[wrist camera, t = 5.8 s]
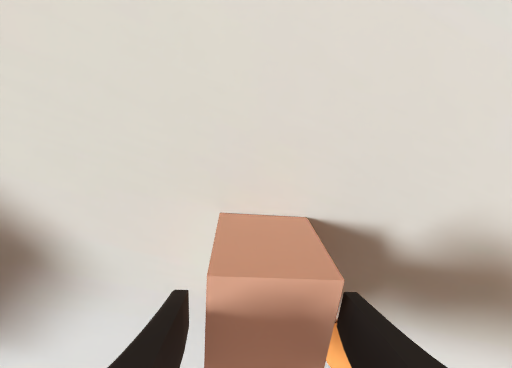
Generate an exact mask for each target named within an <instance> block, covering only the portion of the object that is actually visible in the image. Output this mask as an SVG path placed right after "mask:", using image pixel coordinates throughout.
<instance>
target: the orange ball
mask: <svg viewBox="0 0 512 368" xmlns="http://www.w3.org/2000/svg"><path fill="white" fill-rule="evenodd" d="M326 361H327V363H328V364H329V366H330V367H331V368H351V365H350V363H349V361H348V358H347V356H346V354H345V351H344V349H343V346H342V343H341V339H340V336H339V333H338V329H337V323H334V328H333V332H332V336H331V340H330V345H329V349H328V353H327V357H326Z"/></svg>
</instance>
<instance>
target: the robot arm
mask: <svg viewBox="0 0 512 368" xmlns="http://www.w3.org/2000/svg"><path fill="white" fill-rule="evenodd" d="M188 328H189V298H188V290H174V291H173V292H172V293H171V294H170V296H169V297H168V298H167V300H166V301H165V303H164V304H163V305H162V307H161V308H160V309H159V310H158V312H157V313H156V314H155V316H154V317H153V318H152V319H151V320H150V322H149V323H148V324H147V325H146V327H145V328H144V329H143V330H142V331H141V333H140V334H139V335H138V336H137V337H136V338H135V339H134V340H133V341H132V343H131V344H130V345H129V346H128V347H127V348H126V349H125V350H124V351H123V352H122V354H121V355H120V356H119V357H118V358H117V359H116V360H115V361H114V362H113V363H112V364H111V365H110V366H109V367H108V368H180V364H181V361H182V357H183V354H184V350H185V344H186V339H187V334H188ZM337 329H338V333H339V336H340V339H341V343H342V346H343V349H344V351H345V354H346V356H347V358H348V361H349V363H350V365H351V368H447V367H446V366H444V365H443V364H442V363H440V362H439V361H437V360H436V359H435V358H433V357H432V356H431V355H429V354H428V353H427V352H426V351H424V350H423V349H422V348H421V347H419V346H418V345H417V344H416V343H414V342H413V341H412V340H411V339H409V338H408V337H407V336H406V335H405V334H403V333H402V332H401V331H400V330H399V329H397V328H396V327H395V326H394V325H393V324H392V323H391V322H389V321H388V320H387V319H386V318H385V317H384V316H383V315H382V314H380V313H379V312H378V311H377V310H376V309H375V308H374V307H373V306H371V305H370V304H369V303H368V302H367V301H366V300H365V299H364V298H362V297H361V296H360V295H359V294H358V293H357V292H344V294H343V298H342V303H341V308H340V312H339V317H338V322H337Z"/></svg>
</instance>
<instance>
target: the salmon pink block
mask: <svg viewBox="0 0 512 368" xmlns="http://www.w3.org/2000/svg"><path fill="white" fill-rule="evenodd" d="M344 281H345V280H344V279H343V277H342V275H341V274H340V272H339V270H338V269H337V267H336V265H335V264H334V262H333V260H332V259H331V257H330V255H329V254H328V252H327V250H326V249H325V247H324V245H323V244H322V242H321V240H320V239H319V237H318V235H317V234H316V232H315V230H314V229H313V227H312V225H311V223H310V222H309V220H308V218H305V217H286V216H267V215H249V214H230V213H220V215H219V220H218V224H217V229H216V234H215V239H214V244H213V249H212V254H211V259H210V264H209V268H208V273H207V291H206V326H205V361H204V368H324V366H325V362H326V357H327V353H328V349H329V345H330V340H331V336H332V332H333V328H334V323H335V319H336V315H337V311H338V306H339V302H340V298H341V294H342V289H343V285H344Z"/></svg>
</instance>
